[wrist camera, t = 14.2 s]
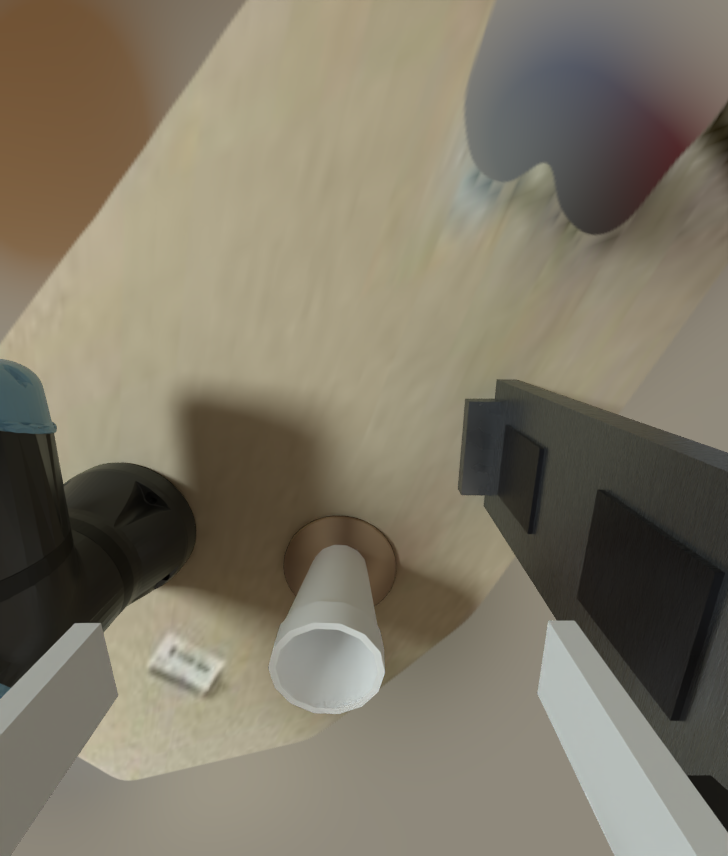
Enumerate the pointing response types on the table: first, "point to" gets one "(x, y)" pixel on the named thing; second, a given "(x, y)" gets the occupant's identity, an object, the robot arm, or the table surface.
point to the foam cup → (330, 637)
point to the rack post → (618, 548)
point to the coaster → (342, 533)
